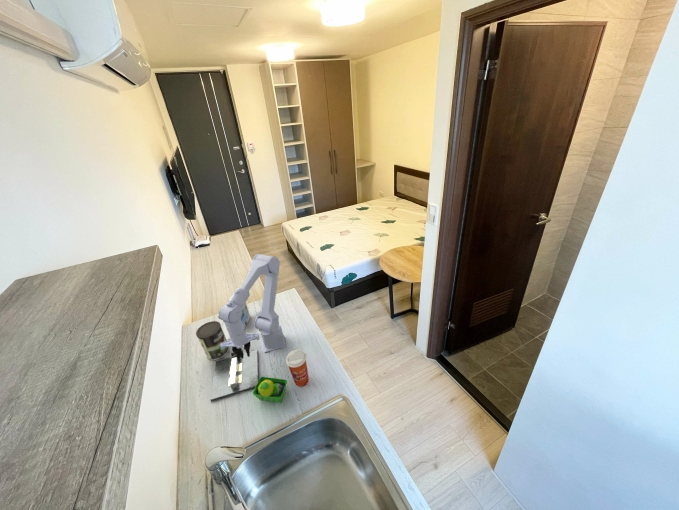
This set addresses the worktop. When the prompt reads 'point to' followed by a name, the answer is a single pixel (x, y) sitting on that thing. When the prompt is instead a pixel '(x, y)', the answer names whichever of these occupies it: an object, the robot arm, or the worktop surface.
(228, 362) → the chassis tray
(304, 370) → the paper cup
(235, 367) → the swing bar
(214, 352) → the coffee can
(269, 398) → the fruit basket
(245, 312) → the light bulb box
